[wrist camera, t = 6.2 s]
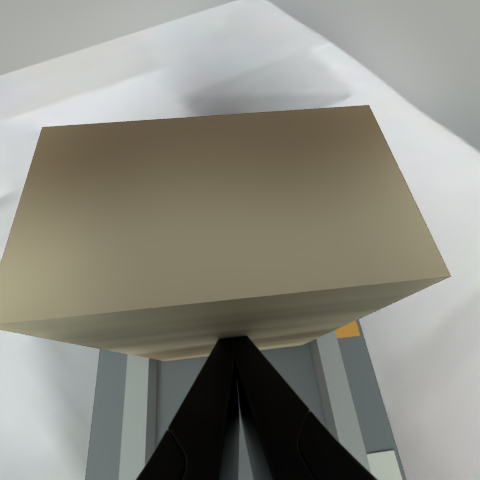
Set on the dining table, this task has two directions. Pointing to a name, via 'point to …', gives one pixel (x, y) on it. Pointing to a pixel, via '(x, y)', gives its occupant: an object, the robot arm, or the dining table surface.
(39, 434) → the dining table surface
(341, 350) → the switch board
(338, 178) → the slider tab
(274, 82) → the dining table surface
